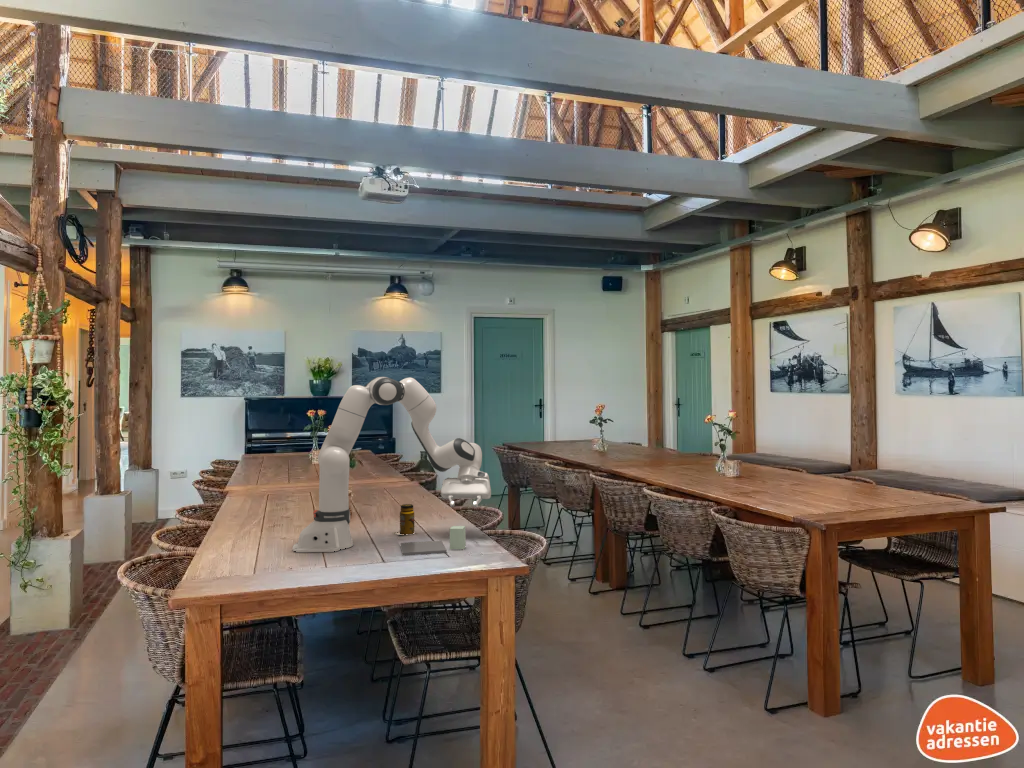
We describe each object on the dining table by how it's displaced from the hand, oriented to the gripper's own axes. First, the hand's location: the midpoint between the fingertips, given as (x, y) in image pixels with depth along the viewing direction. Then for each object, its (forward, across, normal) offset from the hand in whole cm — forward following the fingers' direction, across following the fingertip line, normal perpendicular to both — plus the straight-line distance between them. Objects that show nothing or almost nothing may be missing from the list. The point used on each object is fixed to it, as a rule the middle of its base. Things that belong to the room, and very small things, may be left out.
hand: (463, 506), depth 273 cm
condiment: (+2, -27, +18) cm, 33 cm away
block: (+18, 0, +2) cm, 18 cm away
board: (+20, -13, 0) cm, 24 cm away
